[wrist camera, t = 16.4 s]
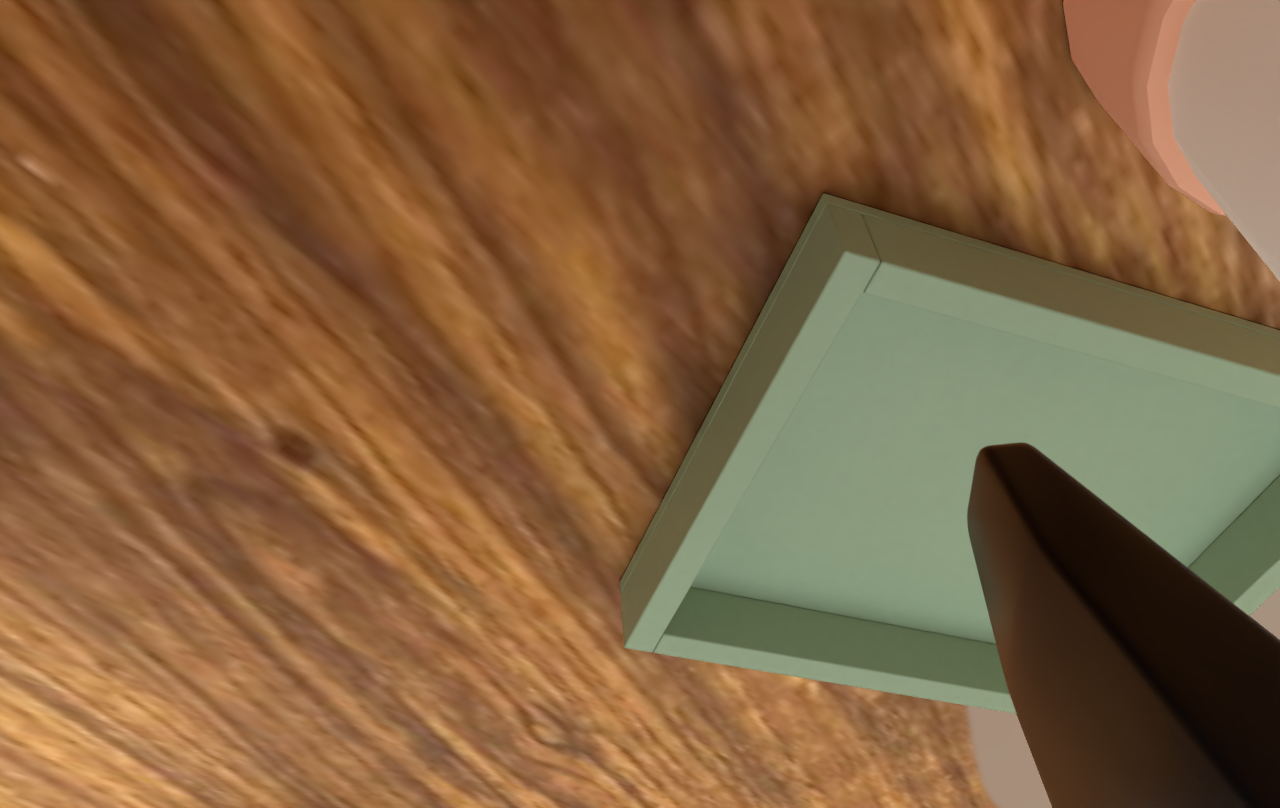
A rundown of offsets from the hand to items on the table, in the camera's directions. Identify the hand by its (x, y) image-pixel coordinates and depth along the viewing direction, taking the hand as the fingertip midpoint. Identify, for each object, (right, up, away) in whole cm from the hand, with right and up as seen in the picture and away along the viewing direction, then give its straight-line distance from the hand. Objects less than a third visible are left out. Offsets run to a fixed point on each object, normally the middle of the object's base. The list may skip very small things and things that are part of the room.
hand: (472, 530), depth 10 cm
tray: (+10, -1, +19) cm, 22 cm away
